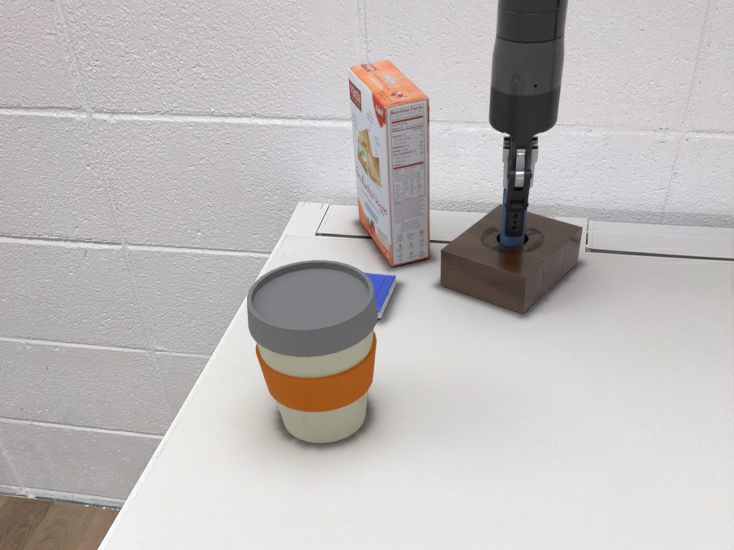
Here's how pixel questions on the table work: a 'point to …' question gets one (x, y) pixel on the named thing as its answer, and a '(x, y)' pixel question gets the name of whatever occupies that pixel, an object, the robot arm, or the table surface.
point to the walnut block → (510, 260)
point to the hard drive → (382, 290)
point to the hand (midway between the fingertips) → (513, 227)
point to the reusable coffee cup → (316, 345)
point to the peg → (503, 239)
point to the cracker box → (391, 160)
